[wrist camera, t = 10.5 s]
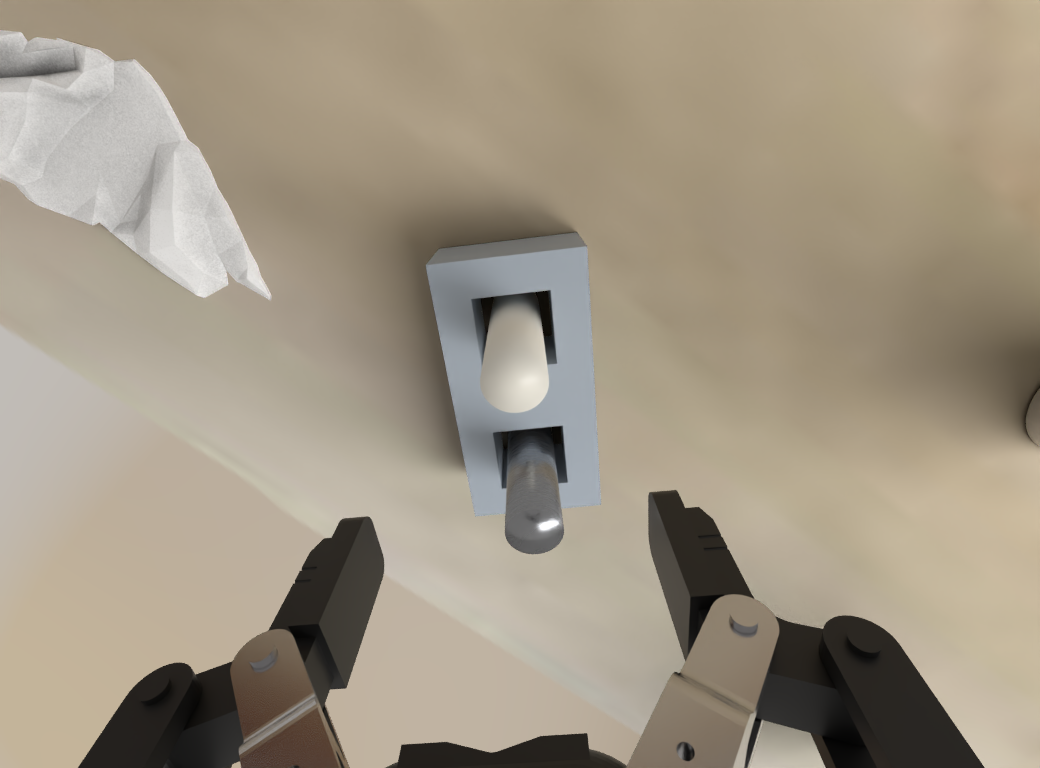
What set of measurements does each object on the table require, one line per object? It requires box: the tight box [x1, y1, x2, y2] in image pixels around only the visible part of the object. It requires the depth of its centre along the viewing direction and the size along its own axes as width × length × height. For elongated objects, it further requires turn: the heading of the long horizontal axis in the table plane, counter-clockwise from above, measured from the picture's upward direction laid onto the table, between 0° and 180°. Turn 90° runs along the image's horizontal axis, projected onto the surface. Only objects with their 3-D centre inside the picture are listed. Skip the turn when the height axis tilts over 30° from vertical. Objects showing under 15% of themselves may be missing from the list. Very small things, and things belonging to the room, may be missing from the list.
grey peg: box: [505, 427, 564, 554], centre depth 32 cm, size 3×3×12 cm
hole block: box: [426, 232, 601, 516], centre depth 33 cm, size 9×18×5 cm, turn 7°
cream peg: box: [480, 292, 549, 413], centre depth 28 cm, size 3×3×12 cm
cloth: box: [0, 30, 271, 300], centre depth 29 cm, size 26×14×2 cm, turn 40°
